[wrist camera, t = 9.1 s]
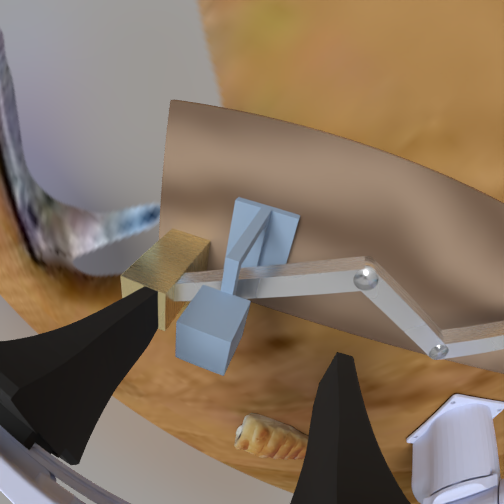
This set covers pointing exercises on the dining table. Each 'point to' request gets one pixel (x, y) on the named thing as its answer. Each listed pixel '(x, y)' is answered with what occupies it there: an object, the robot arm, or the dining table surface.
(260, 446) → the pastry
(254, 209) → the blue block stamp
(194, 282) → the jointed linkage mechanism
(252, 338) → the dining table surface
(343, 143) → the tan flat sheet
